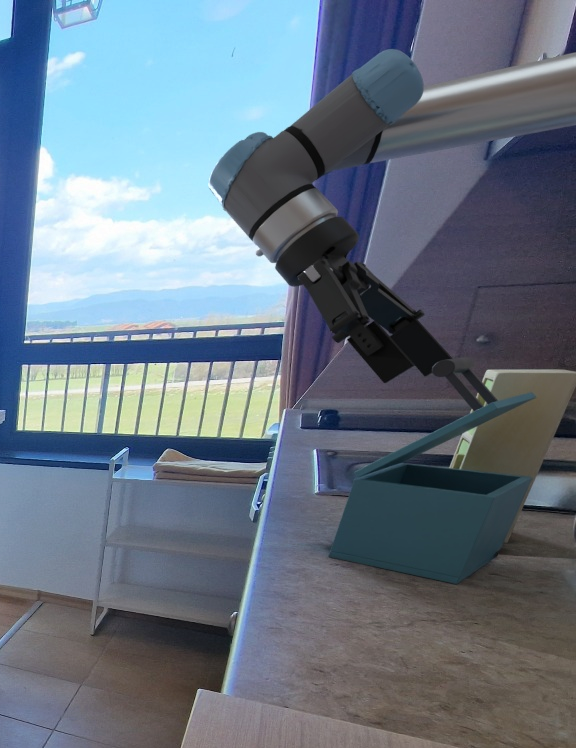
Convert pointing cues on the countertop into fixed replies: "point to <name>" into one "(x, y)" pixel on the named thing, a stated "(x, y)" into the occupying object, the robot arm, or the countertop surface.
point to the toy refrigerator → (517, 425)
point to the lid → (459, 426)
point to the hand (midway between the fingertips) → (420, 371)
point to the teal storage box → (428, 519)
